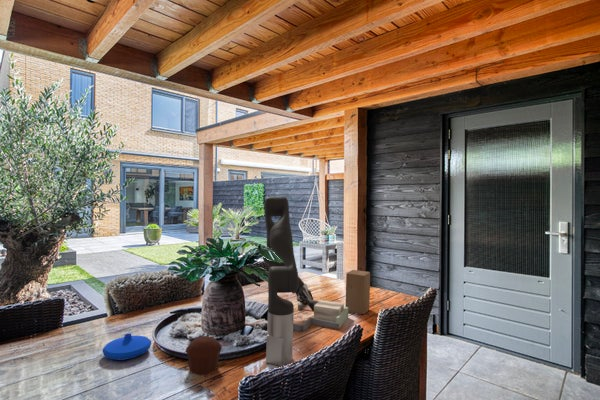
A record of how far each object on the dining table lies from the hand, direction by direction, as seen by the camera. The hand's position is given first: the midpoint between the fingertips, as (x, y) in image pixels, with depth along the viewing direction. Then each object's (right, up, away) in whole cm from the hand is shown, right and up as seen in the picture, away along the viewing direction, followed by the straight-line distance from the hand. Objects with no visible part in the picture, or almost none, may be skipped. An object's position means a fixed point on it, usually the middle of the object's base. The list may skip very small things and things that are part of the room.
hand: (315, 310), depth 161 cm
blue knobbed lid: (-70, -3, -41) cm, 81 cm away
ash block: (+6, -4, -2) cm, 8 cm away
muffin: (-40, -4, -49) cm, 63 cm away
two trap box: (+1, -4, 0) cm, 4 cm away
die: (-7, -4, +33) cm, 34 cm away
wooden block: (+22, -5, +12) cm, 26 cm away
